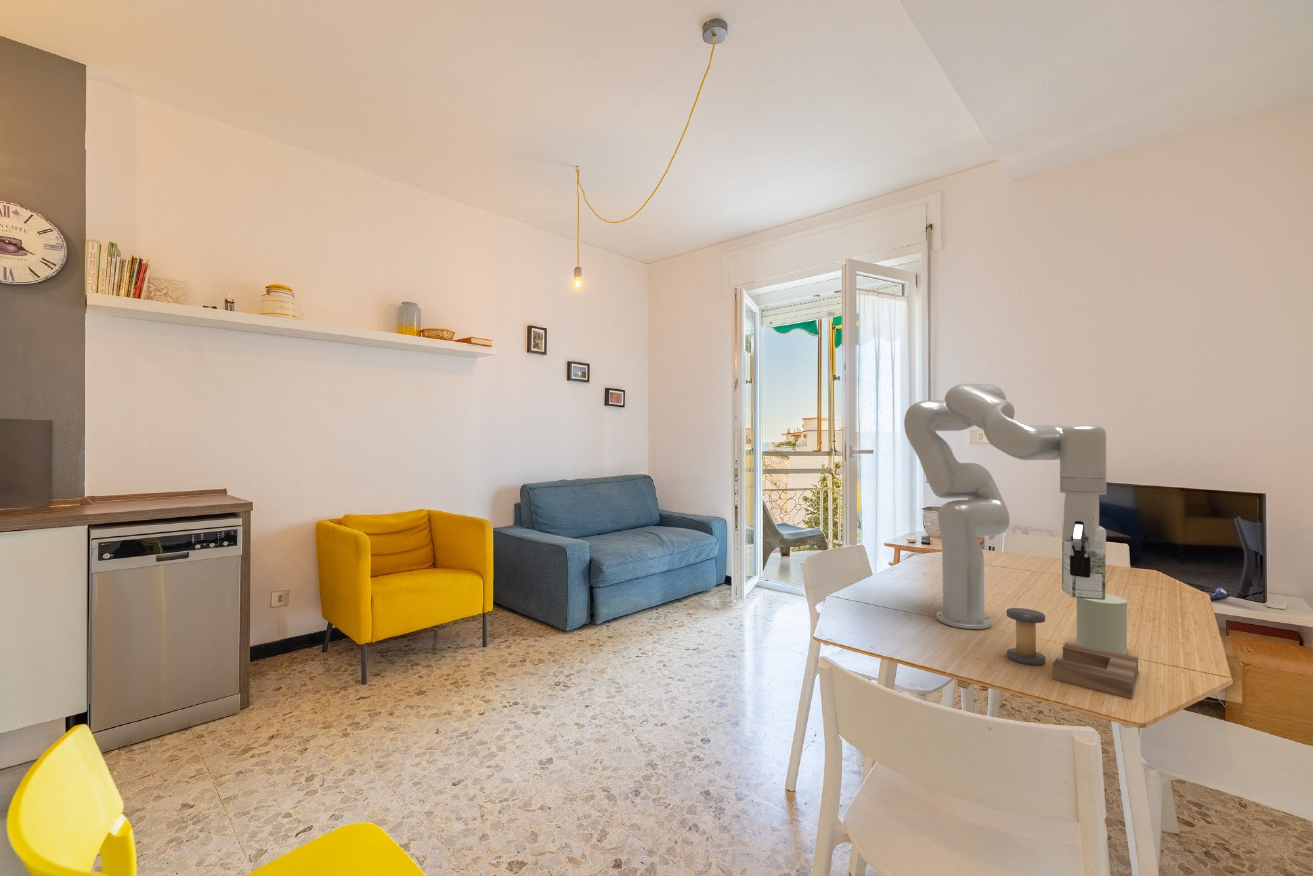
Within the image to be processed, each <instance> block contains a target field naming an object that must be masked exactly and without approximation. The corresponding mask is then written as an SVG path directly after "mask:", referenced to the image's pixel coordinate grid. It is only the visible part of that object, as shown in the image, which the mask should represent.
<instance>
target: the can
mask: <svg viewBox="0 0 1313 876" xmlns="http://www.w3.org/2000/svg"><path fill="white" fill-rule="evenodd" d="M1075 600H1076V641H1075V644H1077V645H1082V646H1087V647H1092V648H1097V649H1102V650H1107V651H1111V652H1116V653H1121V654H1126V655H1128V652H1129V651H1128V643H1127V642H1128V639H1127V637H1128V636H1127V635H1128V634H1127V633H1128V632H1127V631H1128V629H1127V627H1128V626H1127V624H1128V623H1127V621H1128V620H1127V619H1128V618H1127V617H1128V613H1127V612H1128V609H1127V607H1128V600H1127V599H1126V598H1123V597H1121V596H1118V595H1115V594H1109V593H1105V600H1098V599H1085V598H1076V599H1075Z"/></svg>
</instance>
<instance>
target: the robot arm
mask: <svg viewBox="0 0 1313 876" xmlns="http://www.w3.org/2000/svg"><path fill="white" fill-rule="evenodd" d="M1015 412H1016V411H1015V407H1014V406H1013V404H1012V403H1011V402H1010V401H1008V400H1007V398H1006V394H1005V392H1004V391H1003V390H1002V388H1000V387H999V386H997V385H995V384H990V383H961V384H960V383H959V384H957V385H954V386H952V387H951V388H949V389H948V391H947V392H946V393H945V397H944V400H939V399H937V400H932V399H931V400H921V401H917V402H915V403H913V404H912V405H910V406H909V407H908V408H907V410H906V412H905V415H904V421H903V422H904V423H903V425H904V432H905V435H906V438H907V440H908V441H909V443H910V445H911V447H912V448H913V450H914V452H915V454H916V456H917V458H918V460H919V462H920V466H921V468H922V469H923V470H922V471H923V472H924V474H925V477H926V479H927V482H928V485H929V487H930V488H931V491H932V492H933V494H934V495H935V496H937V497H938V498H940V499H955V500H951V501H948V502H945V503H944V504H942V505H941V507H940V508H939V509H938V512H937V524H938V529H939V532H940V538H941V539H940V540H941V559H942V560H941V561H942V564H941V565H942V572H941V573H942V577H941V578H942V610H939V611H937V612H936V613H935V617H936V620H937V621H939V622H940V623H942V624H944V625H948V626H950V627H953V628H959V629H966V630H967V629H968V630H984V629H988V628H990V627H991V626H992V620H991V618H989V617H988V616H986V615H985V556H984V551H983V549H982V547H981V545H980V543H979V541H978V539H977V537H985V536H986V537H987V536H988V537H989V536H997V535H1001V534H1003V533H1005V531H1006V530H1007V529H1008V528H1009V527H1010V526H1009V525H1010V521H1011V520H1010V514H1009V511H1008V507H1007V506H1006V504H1005V501H1004V499H1003V497H1002V495H1001V492H1000V491H999V489H998V486H997V485H996V482H995V480H994V478H993V476H992V474H991V473H990V472H989V471H988V469H987V468H986V467H984V466H983V465H981V464H979V463H974V462H960V461H958V460H957V458H956V457H955V454H954V452H953V451H952V450H953V449H952V447H951V446H950V445H949V443H947V441H946V440H945V439H944V438H942V437H941V436H940V435H939V434H938V433H937V432H942V431H943V432H944V431H945V432H951V431H954V432H956V431H957V432H958V431H964V430H967V429H969V428H973V427H974V426H975V427H977V428H979V429H981V430H983V433H984V436H985V438H986V440H987V441H988V443H989V444H990V445H991V446H992V447H994V448H996V449H997V450H998V451H1001V452H1003V453H1005V454H1006V455H1008V456H1011V457H1013V458H1015V459H1019V460H1022V461H1044V460H1045V461H1052V460H1053V461H1056V460H1058V461H1059V492H1060V493H1063V494H1065V496H1064V503H1063V523H1064V524H1063V523H1062V524H1063V540H1064V541H1065V542H1068V541H1067V540H1070V539H1071V536H1072V534H1073V532H1074V536H1073V537H1072V541H1071V555H1070V575H1072V576H1079V577H1086V578H1089V577H1090V557H1088V556H1089V544H1092V543H1093V542H1094V539H1095V532H1096V528H1097V527H1098V525H1099V526H1100V496H1103V495H1105V496H1106V495H1107V432H1106V430H1105V428H1104V427H1102V426H1099V425H1069V426H1067V425H1061V424H1060V425H1059V424H1058V425H1057V424H1056V425H1054V424H1053V425H1052V424H1051V425H1050V424H1048V425H1047V424H1043V425H1040V424H1038V425H1037V424H1032V425H1031V424H1030V425H1028V424H1027V425H1026V424H1023V423H1020V422H1018V421H1016V420H1014V418H1015ZM1083 529H1084V531H1083ZM1086 536H1087V538H1086ZM1082 539H1085V540H1086V541H1082ZM1084 546H1085V547H1084ZM1084 548H1085V549H1084Z"/></svg>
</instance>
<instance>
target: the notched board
mask: <svg viewBox="0 0 1313 876" xmlns="http://www.w3.org/2000/svg"><path fill="white" fill-rule="evenodd" d="M1051 664H1052V680H1055V681H1059V682H1063V683H1068V684H1071V685H1074V686H1079V687H1083V688H1086V689H1087V688H1088V689H1091V690H1095V691H1099V692H1103V693H1107V694H1111V695H1115V696H1120V697H1124V698H1127V699H1131V700H1132V699H1133V695H1134V690H1135V686H1136V683H1137V678H1138V674H1139V656H1135V655H1129V654H1121V653H1116V652H1111V651H1107V650H1102V649H1097V648H1092V647H1087V646H1082V645H1077V644H1076V643H1072V642H1067V641H1066V642H1065V643H1064V644H1063V647H1062V658H1058V657H1056V658H1055V659H1054V661H1053V662H1052V663H1051Z"/></svg>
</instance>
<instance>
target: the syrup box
mask: <svg viewBox="0 0 1313 876" xmlns="http://www.w3.org/2000/svg"><path fill="white" fill-rule="evenodd" d="M1063 524H1064V522H1063V523H1062V526H1061V527H1062V529H1061V530H1062V531H1061V533H1062V534H1061V535H1062V536H1061V537H1062V538H1061V539H1062V541H1061V542H1062V543H1061V544H1062V545H1061V546H1062V547H1061V549H1062V550H1061V556H1062V558H1061V560H1062V561H1061V590H1062V592H1064V593H1065V594H1067V595H1068V596H1070V598H1085V599H1098V600H1105V594H1106V565H1107V563H1106V562H1107V561H1106V559H1107V557H1106V556H1107V553H1106V551H1107V549H1106V547H1107V530H1106V528H1104V527H1102V526H1101V525H1100V524H1099V525H1098V527H1097V528H1096V532H1095V539H1094V542H1093V543H1092V544H1089V556H1088V557H1090V577H1089V578H1086V577H1079V576H1072V575H1070V555H1071V541H1072V537H1073V536H1074V532H1073V534H1072V536H1071V539H1070V540H1067V541H1068V542H1065V541H1064V540H1063ZM1083 531H1084V529H1083ZM1086 538H1087V536H1086ZM1082 541H1086V540H1085V539H1082ZM1084 547H1085V546H1084ZM1084 549H1085V548H1084Z"/></svg>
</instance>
